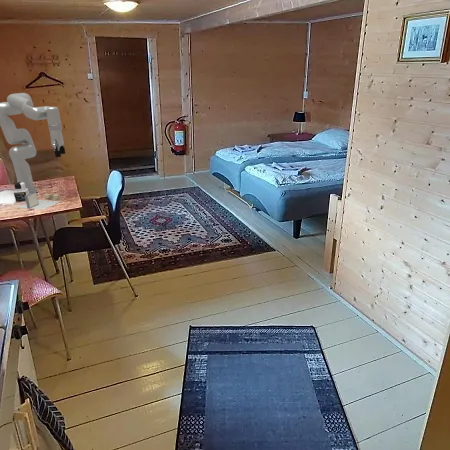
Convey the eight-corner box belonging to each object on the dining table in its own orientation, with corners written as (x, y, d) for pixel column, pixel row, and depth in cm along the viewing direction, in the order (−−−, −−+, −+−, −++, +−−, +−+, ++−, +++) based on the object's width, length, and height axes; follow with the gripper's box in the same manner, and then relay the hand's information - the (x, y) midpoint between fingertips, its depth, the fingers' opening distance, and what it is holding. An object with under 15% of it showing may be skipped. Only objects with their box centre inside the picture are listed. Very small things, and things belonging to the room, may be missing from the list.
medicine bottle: (15, 202, 259) (11, 184, 255) (19, 199, 266) (14, 182, 261) (27, 201, 260) (23, 183, 256) (30, 198, 267) (26, 180, 262)
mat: (16, 208, 248) (16, 207, 248) (35, 200, 262) (35, 199, 262) (43, 210, 242) (43, 209, 242) (61, 202, 256) (61, 201, 256)
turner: (43, 200, 261) (42, 195, 260) (49, 198, 265) (48, 193, 264) (64, 202, 256) (63, 197, 255) (69, 199, 261) (68, 194, 259)
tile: (27, 208, 245) (24, 195, 243) (36, 204, 252) (34, 191, 250) (29, 208, 245) (26, 195, 242) (39, 204, 252) (36, 192, 249)
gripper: (53, 126, 257) (58, 153, 263) (44, 130, 241) (50, 158, 247) (65, 125, 258) (70, 152, 264) (57, 129, 242) (62, 157, 248)
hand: (60, 155), depth 256 cm, fingers open, 9 cm apart
